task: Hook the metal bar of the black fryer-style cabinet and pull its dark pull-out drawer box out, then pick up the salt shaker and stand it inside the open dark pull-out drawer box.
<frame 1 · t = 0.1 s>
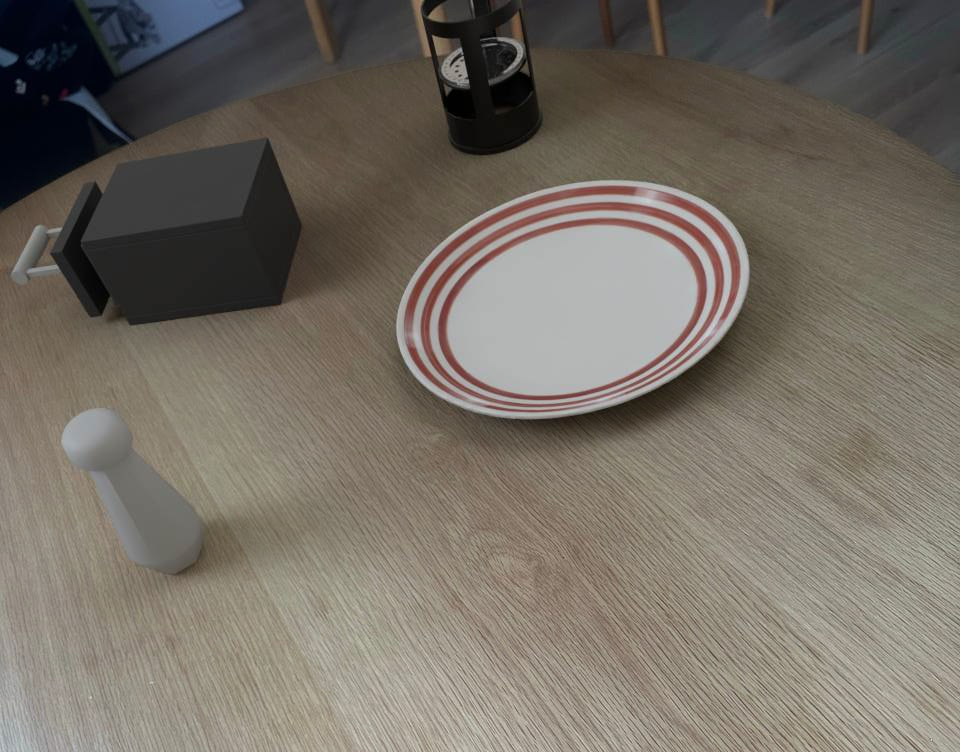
french press: (496, 126, 100), on the table
dark pull-out drawer box: (123, 244, 93), point 4 cm above the table, slide at 2.5 cm
fryer: (217, 274, 95), on the table
dinner plate: (571, 321, 81), on the table
salt shaker: (178, 554, 76), on the table
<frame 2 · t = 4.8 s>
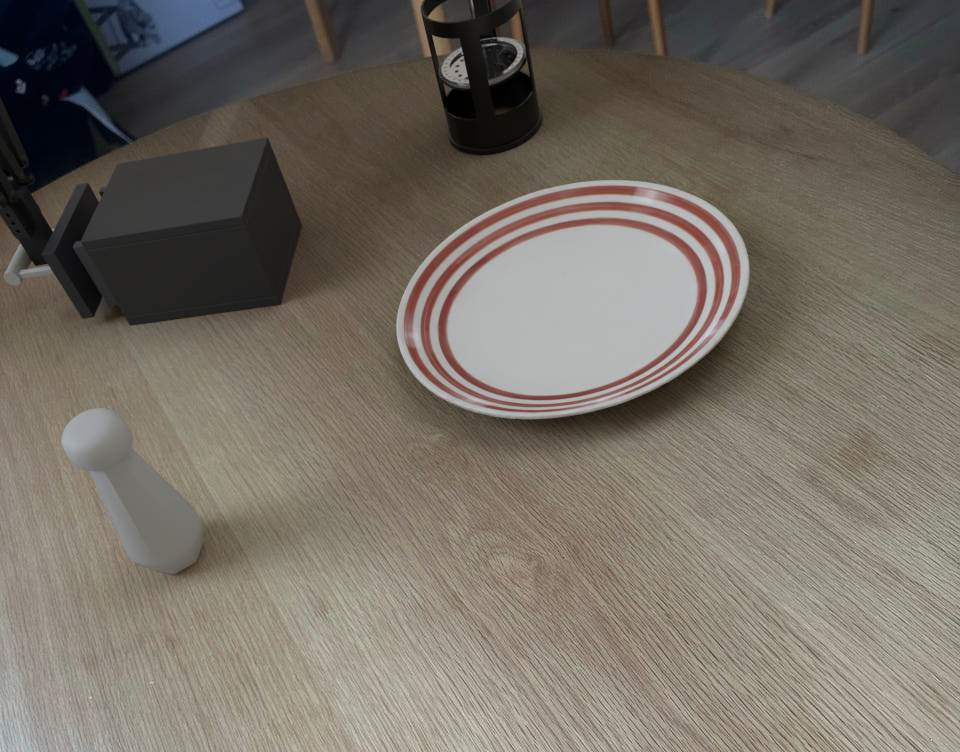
hand: (50, 258, 95), 4 cm above the table, tool pointing down, fingers closed
dark pull-out drawer box: (115, 245, 94), point 4 cm above the table, slide at 3.3 cm
everything else where it was.
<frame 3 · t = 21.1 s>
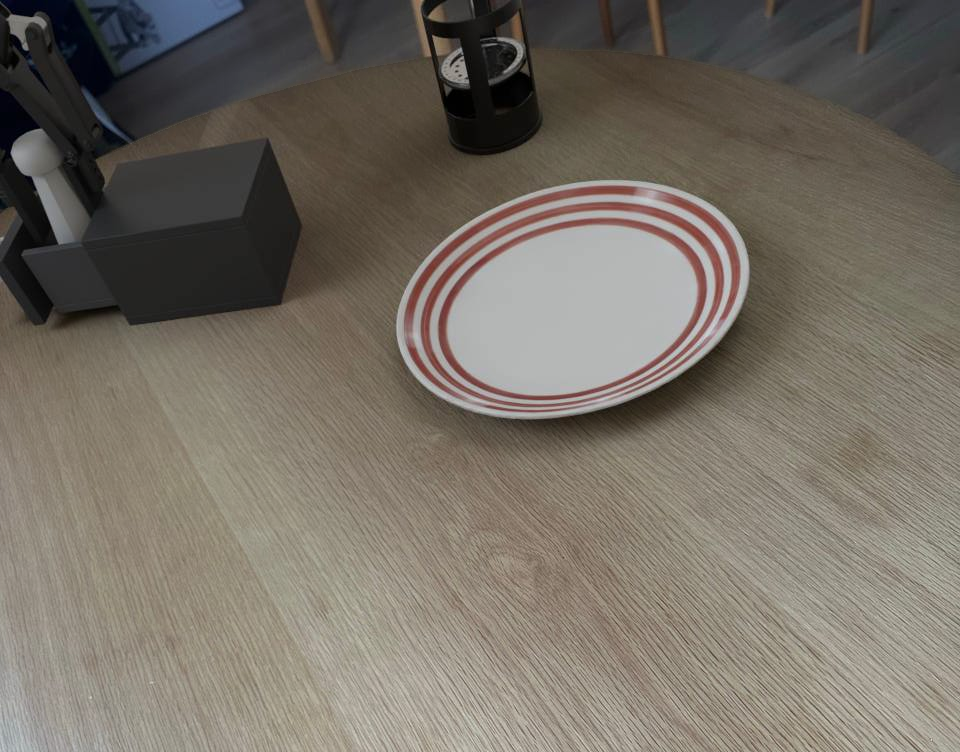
hand: (76, 228, 92), 7 cm above the table, tool pointing down, fingers open, 6 cm apart
dark pull-out drawer box: (66, 253, 95), point 4 cm above the table, slide at 8.4 cm, touching salt shaker
salt shaker: (108, 272, 96), point 2 cm above the table, touching dark pull-out drawer box
everything else where it was.
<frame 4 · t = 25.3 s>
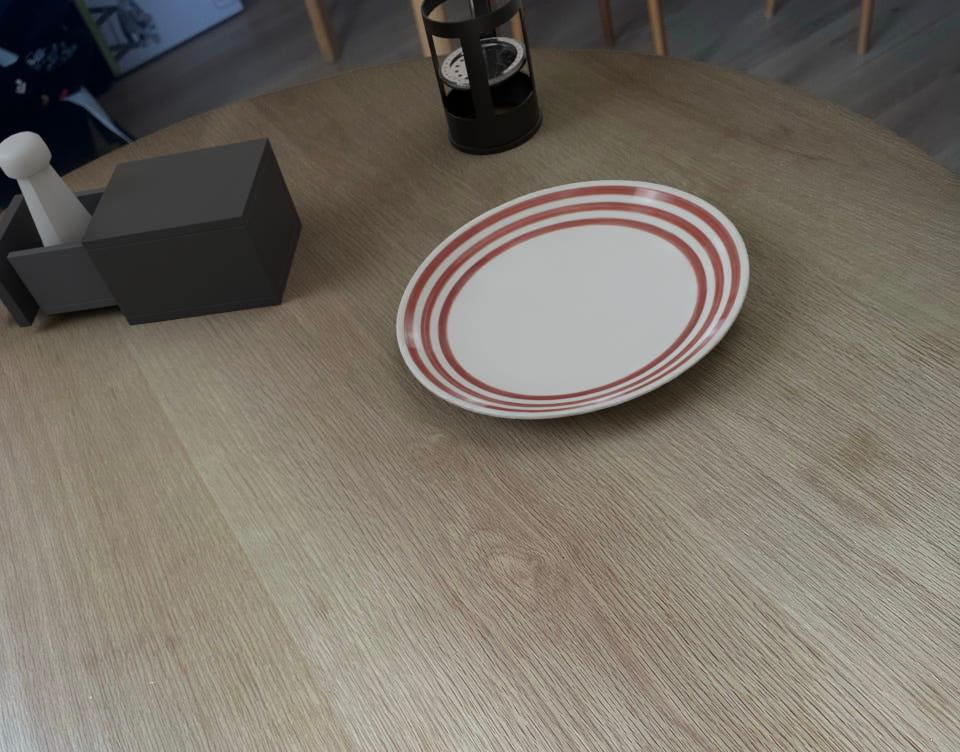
dark pull-out drawer box: (52, 255, 95), point 4 cm above the table, slide at 9.8 cm, touching salt shaker
salt shaker: (94, 274, 96), point 2 cm above the table, touching dark pull-out drawer box
everything else where it was.
at the end: dark pull-out drawer box slide at 9.8 cm; salt shaker inside the target area in the dark pull-out drawer box (0.8 cm from its centre), point 1.9 cm above the fryer's base; salt shaker tilted 0° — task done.
